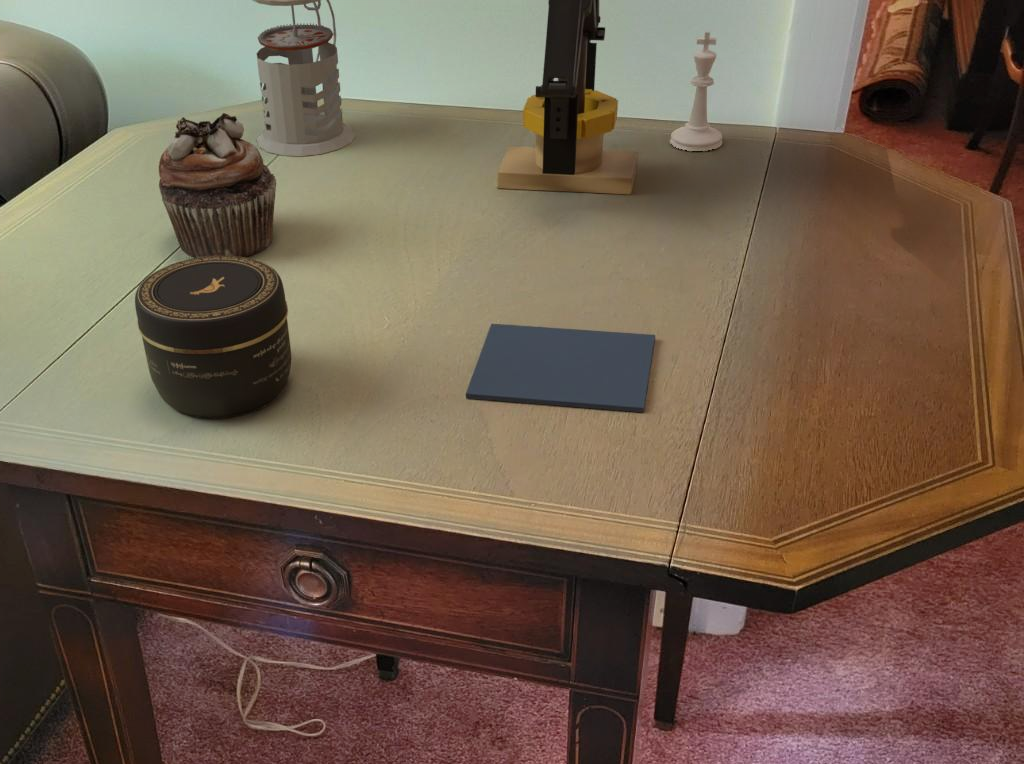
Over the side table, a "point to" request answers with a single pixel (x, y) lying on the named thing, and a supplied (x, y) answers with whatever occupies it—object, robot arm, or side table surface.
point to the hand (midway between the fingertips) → (568, 144)
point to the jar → (215, 335)
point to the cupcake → (217, 190)
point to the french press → (300, 88)
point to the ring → (590, 123)
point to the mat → (564, 367)
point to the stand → (592, 162)
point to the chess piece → (699, 106)
